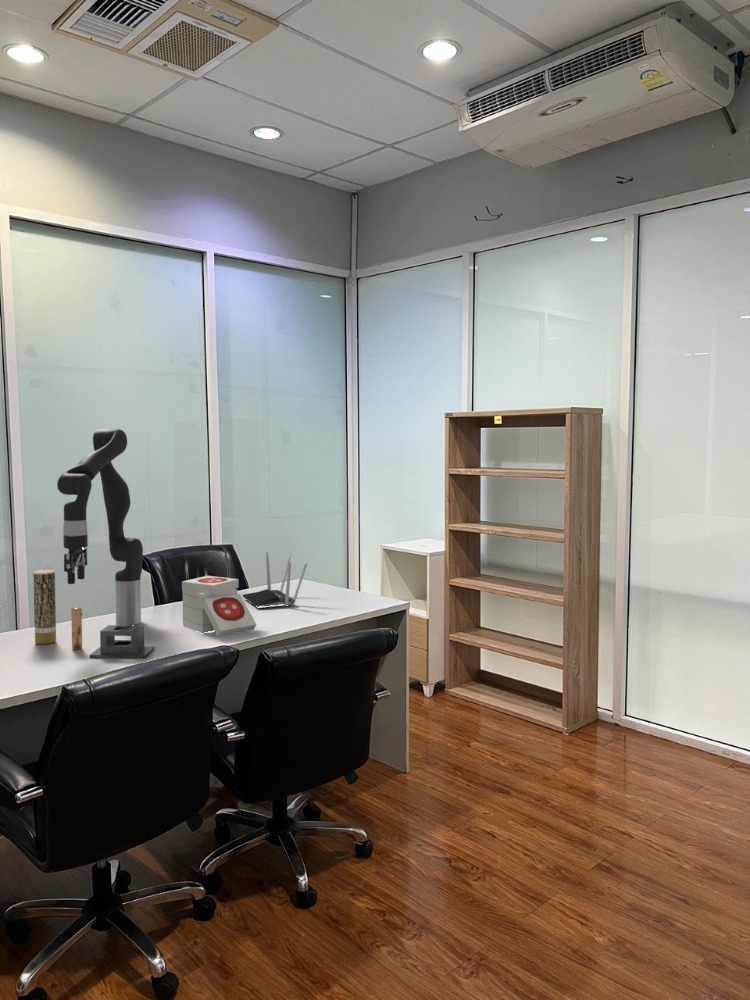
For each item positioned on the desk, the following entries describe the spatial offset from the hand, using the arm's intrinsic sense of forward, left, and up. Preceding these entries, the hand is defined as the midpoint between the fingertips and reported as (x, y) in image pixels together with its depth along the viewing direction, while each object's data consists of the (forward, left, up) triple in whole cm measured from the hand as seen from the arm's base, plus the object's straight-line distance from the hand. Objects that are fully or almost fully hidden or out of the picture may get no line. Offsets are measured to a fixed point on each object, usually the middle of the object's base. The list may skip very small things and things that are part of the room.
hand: (76, 581), depth 257 cm
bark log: (-8, -14, -23) cm, 28 cm away
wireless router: (-78, +57, -23) cm, 99 cm away
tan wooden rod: (0, 0, -23) cm, 23 cm away
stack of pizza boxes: (-28, +42, -23) cm, 56 cm away
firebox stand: (+5, +17, -23) cm, 29 cm away
